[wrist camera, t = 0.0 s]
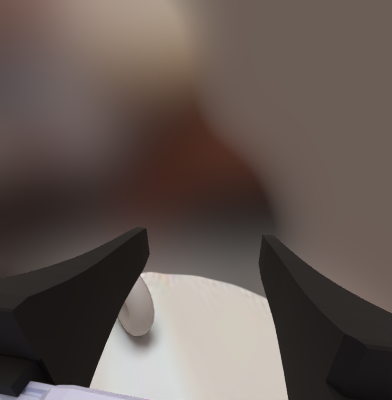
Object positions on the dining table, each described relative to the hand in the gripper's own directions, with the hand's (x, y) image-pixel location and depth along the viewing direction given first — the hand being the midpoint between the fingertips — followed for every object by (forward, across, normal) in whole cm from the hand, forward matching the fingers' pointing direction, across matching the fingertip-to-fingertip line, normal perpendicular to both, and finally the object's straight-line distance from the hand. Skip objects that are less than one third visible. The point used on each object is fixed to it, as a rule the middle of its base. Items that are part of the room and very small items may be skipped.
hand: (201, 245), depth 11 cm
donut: (+9, +12, +23) cm, 27 cm away
